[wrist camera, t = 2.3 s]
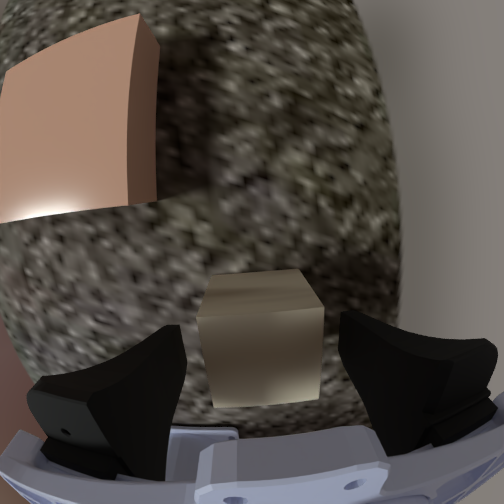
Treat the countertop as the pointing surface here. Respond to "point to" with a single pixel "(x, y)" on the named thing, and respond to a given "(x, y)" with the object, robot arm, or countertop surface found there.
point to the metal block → (261, 338)
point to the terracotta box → (81, 123)
